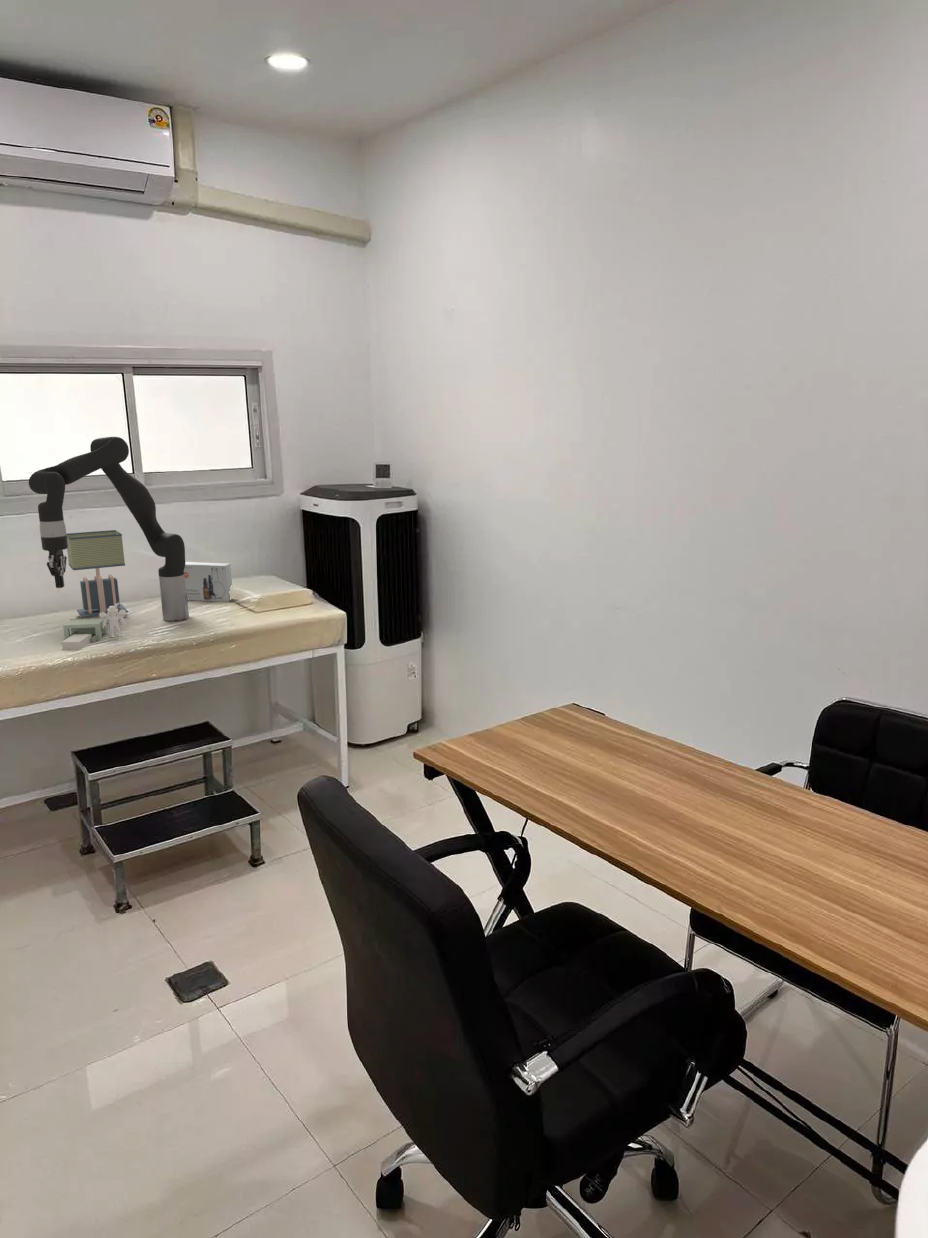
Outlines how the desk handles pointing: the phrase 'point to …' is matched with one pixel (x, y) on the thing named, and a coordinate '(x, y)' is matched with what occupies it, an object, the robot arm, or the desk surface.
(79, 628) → the shelf
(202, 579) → the skincare box
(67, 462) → the robot arm
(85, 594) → the desk lamp
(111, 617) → the hat wearing toy figure
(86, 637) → the cover plate
